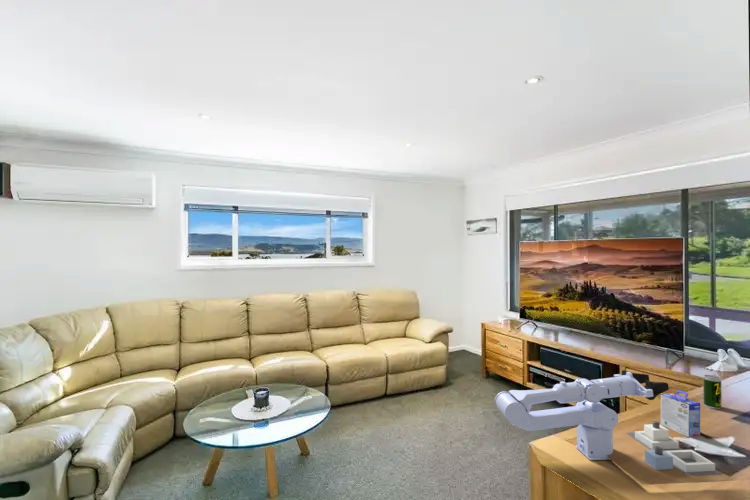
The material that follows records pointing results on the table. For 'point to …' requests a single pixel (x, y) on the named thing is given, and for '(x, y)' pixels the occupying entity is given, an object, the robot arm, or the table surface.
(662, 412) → the ink cartridge box
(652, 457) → the blue plug
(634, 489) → the table surface
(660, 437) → the cream plug
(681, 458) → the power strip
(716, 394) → the beer can
